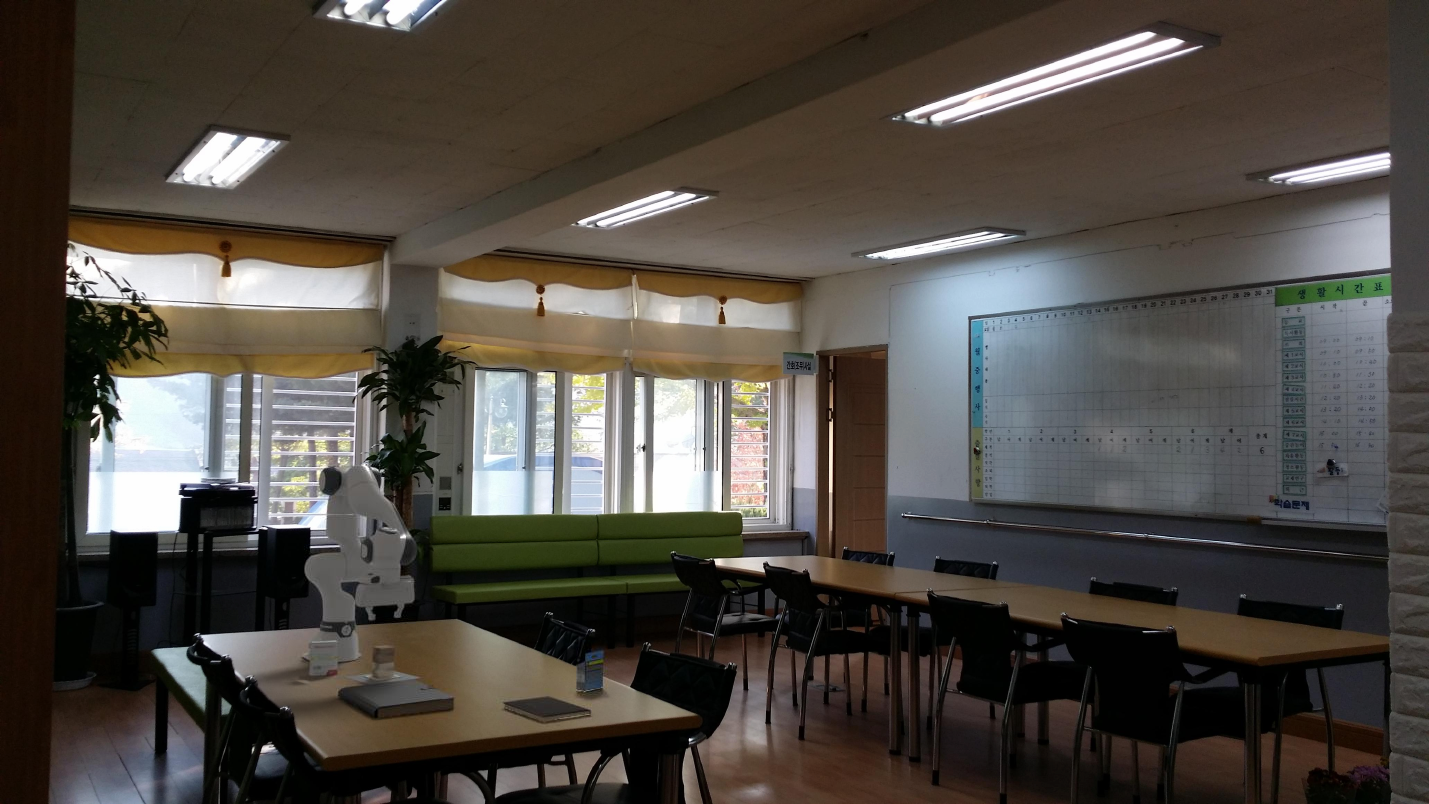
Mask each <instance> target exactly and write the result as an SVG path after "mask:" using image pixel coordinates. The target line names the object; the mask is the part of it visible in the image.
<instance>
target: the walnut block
mask: <svg viewBox="0 0 1429 804" xmlns="http://www.w3.org/2000/svg"><path fill="white" fill-rule="evenodd" d="M372 662H374V663H378V664H384V663H392V662H394V663H395V646H391V645H387V644H386V645H385V644H384V645H377V646H372Z"/></svg>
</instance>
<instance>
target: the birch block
mask: <svg viewBox="0 0 1429 804" xmlns="http://www.w3.org/2000/svg"><path fill="white" fill-rule="evenodd" d="M394 671H395V661H394V662H392V663H384V664H378V663H374V662H372V664H371V673H372V677H373V678H377V679H382V678H390V677H393V676H394Z"/></svg>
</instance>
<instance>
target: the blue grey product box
mask: <svg viewBox="0 0 1429 804" xmlns="http://www.w3.org/2000/svg"><path fill="white" fill-rule="evenodd" d="M604 654H605V653H604V650H598V651H594V652H588V653H585V660H584V661H583V662H581V663H579V664H577V665H576V682H575V683H576V687H575V688H576V689H577V690H583V691H586V690H591V689H596V688H601V687H603V688H604ZM594 656H595V657H594ZM576 689H575V690H576Z"/></svg>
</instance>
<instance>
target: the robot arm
mask: <svg viewBox="0 0 1429 804" xmlns="http://www.w3.org/2000/svg"><path fill="white" fill-rule="evenodd" d="M318 486H319V490H320V492H321V493H322V494H324V495H326V496H328V498H327V506H326V519H325V520H326V521H325V522H326V524H325V525H326V526H325V528H326V529H325V534H326V536H327V538H328V539H329V540H330V541H332V542H333V543H336V544H337V545H339V548H340V552H322V553H318V554H313V555H310V556H309V557H308V558H307V560H306V561H305V564H304V574H305V576H306V579H307V580H308V581H309V582H311V583H312V584H313V585H314V586H315V587H316V588H317V589H318V592H319V593H320V595H321V599H322V620H321V621H319V625H320V626H319V632H317V633H316V634H315V636H314V637H312V638H311V640H309V641H310V642H308V649H309V650H308V652H305V653H302V655H301V656H302V658H304V659H306V660H308V661H310V646H311V642H312V641H335V640H336V641H337V642H338V663H340V662H341V663H342V662H349V661H355V660H358V659H359V658H361V657H362V653H359V636H358V634H357V633H356V631H355V630H356V626H357V623H356V619H355V616H356V613H355V611H356V607H358V608H365V611H366V613H367V614H368V618H367V619H368V621H375V620H376V614H374V613H373V609H374V607H377V606H379V607H381V606H390V605H396V606H397V610H396V611H394V615H393V617H394V618H396V619H398V618H401V617H402V612H403V609H405V604H413V602H414V601H415V587H414V585H415V579H414V578H413V576H411V575H409V574H407V575H401V566H408V565H409V564H410V563H412V562H413V561H414V560H415V559H416V557H417V555H418V546H417V542H416V541H415V539H414V538H413V536H412V535H411V533H410V532H409V530H408V529H407V527H406V524H405V522H404V520H403V519H402V517H401V516H402V515H400V513H399V511H398V509H397V507H396V505H395V504H394V503H393V502H392V501H391V500H389V499H387V497H385V496H384V494H383V493H382V491H381V490H380V489H381V486H382V474H381V472H380V470H379V469H378V468H376V467H372V466H368V465H364V464H355V465H343V466H327V467H324V468H323V469H322V470H321V472H320V474H319V478H318ZM359 516H361V517H365V518H370V519H374V520H377V521H380V522H382V523H384V524H385V525H387V527H386V526H385V527H384V526H383V527H379V528H377V529H376V531H375V534H373V535H372V536H371V535H370V536H369V537H366V538H365V539H364V540H363V541H362V542H361V539H360V535H359V525H358V524H359V521H358V520H359ZM353 582H358V583H359V584H358V585H357V587H356V590H355V597H354V596H353V595H352V594H350V593H349V592H346V591H345V590H343V588H342V583H353Z"/></svg>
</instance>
